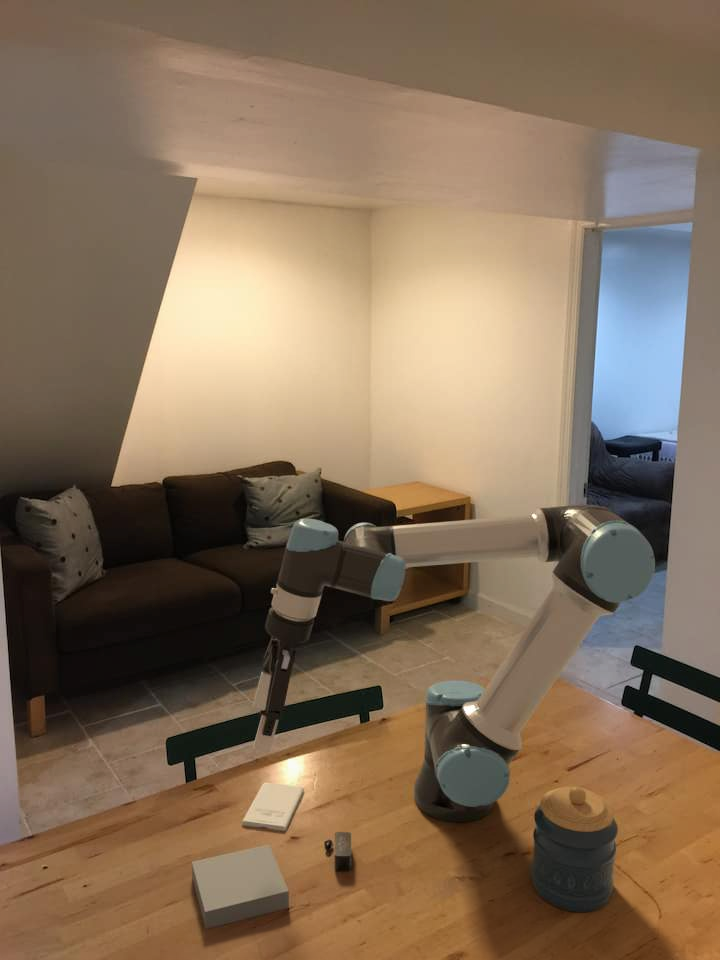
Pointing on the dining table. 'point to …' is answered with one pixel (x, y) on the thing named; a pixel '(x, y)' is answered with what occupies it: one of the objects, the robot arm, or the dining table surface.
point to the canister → (574, 849)
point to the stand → (239, 886)
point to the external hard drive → (273, 806)
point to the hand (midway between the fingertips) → (260, 727)
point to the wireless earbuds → (341, 851)
